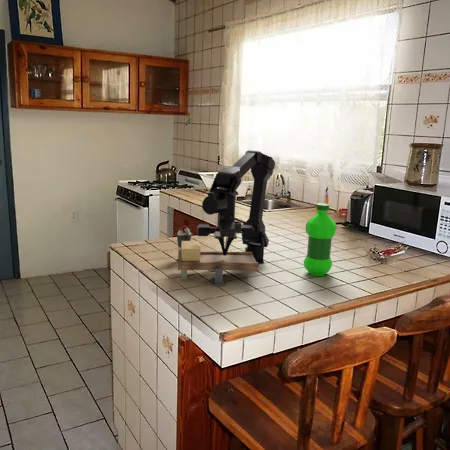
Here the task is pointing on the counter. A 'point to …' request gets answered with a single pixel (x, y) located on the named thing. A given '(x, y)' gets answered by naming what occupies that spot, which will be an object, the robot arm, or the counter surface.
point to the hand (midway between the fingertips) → (224, 255)
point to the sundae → (183, 235)
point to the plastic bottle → (319, 241)
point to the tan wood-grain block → (190, 251)
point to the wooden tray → (220, 261)
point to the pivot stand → (217, 281)
